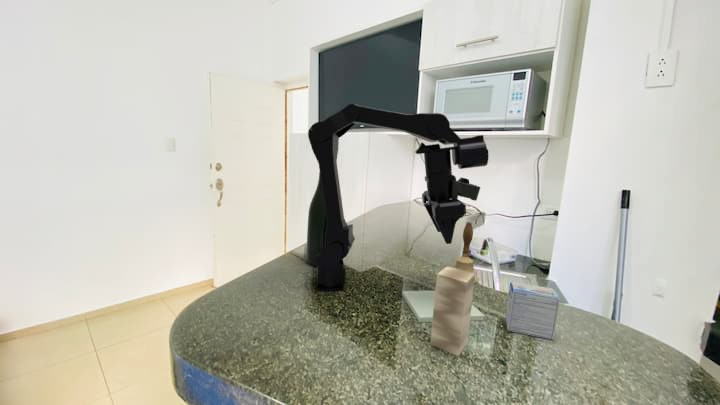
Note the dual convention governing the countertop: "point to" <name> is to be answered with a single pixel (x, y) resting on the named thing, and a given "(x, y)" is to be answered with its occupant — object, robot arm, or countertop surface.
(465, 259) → the hand bell
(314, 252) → the beer bottle
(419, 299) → the sage board
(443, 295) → the birch block
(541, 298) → the medicine box
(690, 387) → the countertop surface
